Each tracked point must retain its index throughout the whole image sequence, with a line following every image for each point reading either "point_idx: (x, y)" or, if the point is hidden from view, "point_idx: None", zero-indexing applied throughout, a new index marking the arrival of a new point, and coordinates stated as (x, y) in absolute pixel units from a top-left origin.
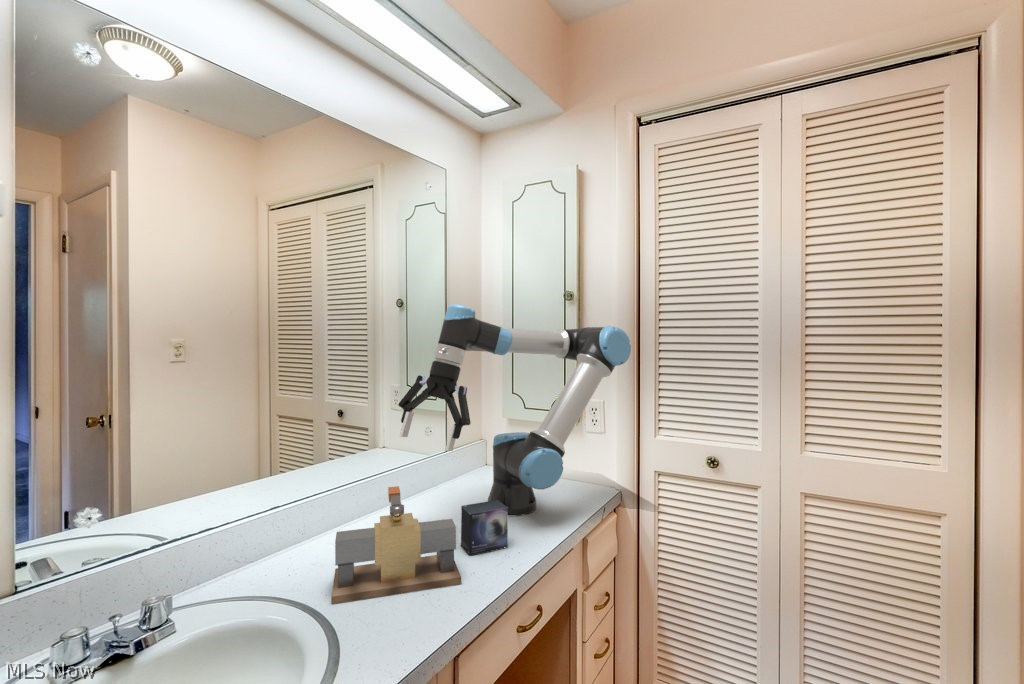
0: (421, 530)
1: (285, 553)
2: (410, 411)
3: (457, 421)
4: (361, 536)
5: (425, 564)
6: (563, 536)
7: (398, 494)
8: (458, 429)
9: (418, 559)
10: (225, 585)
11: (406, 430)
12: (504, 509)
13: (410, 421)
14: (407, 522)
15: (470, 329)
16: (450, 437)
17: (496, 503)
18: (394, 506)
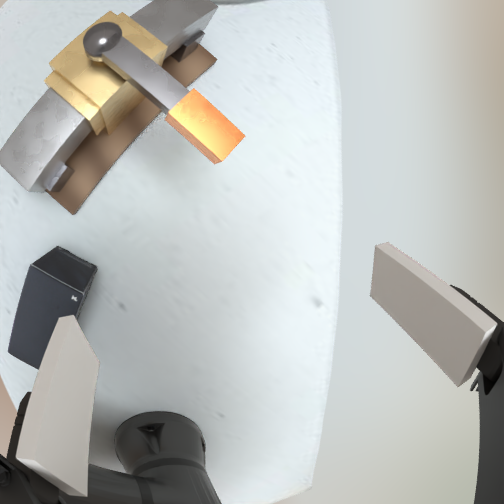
0: (49, 91)
1: (332, 91)
2: (478, 368)
3: (5, 490)
4: (153, 9)
5: (83, 147)
6: (10, 397)
7: (169, 106)
8: (11, 445)
9: (108, 154)
10: (311, 12)
11: (394, 291)
12: (9, 342)
13: (426, 338)
14: (71, 59)
15: None
16: (40, 376)
17: (36, 355)
18: (108, 33)
